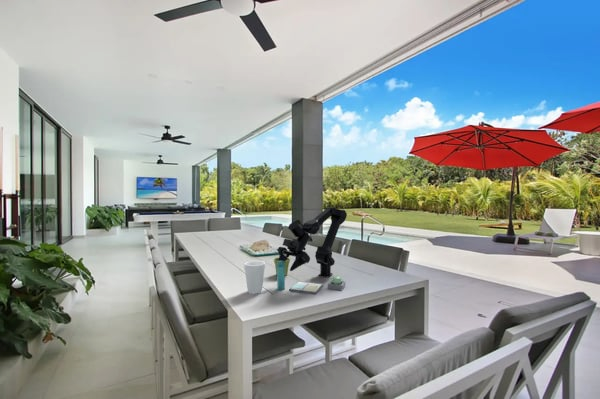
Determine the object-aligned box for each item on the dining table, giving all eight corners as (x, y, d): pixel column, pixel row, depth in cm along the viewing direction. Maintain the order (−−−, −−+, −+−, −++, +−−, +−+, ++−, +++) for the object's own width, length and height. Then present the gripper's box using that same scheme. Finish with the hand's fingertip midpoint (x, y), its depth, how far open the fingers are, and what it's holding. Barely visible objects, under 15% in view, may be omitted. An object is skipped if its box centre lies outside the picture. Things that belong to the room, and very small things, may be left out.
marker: (279, 287, 136) (279, 260, 136) (285, 288, 135) (285, 261, 134) (276, 289, 133) (276, 262, 132) (283, 290, 131) (282, 262, 131)
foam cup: (250, 296, 124) (249, 266, 124) (241, 290, 131) (240, 262, 131) (269, 292, 129) (268, 263, 129) (259, 286, 137) (259, 259, 137)
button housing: (331, 283, 141) (331, 279, 141) (345, 285, 139) (345, 281, 139) (327, 288, 135) (327, 284, 135) (342, 289, 132) (342, 285, 132)
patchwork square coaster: (298, 283, 142) (298, 280, 142) (323, 285, 138) (323, 283, 138) (288, 291, 130) (288, 289, 130) (315, 294, 126) (315, 292, 126)
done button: (333, 281, 140) (333, 276, 140) (342, 282, 138) (342, 276, 138) (331, 284, 135) (331, 278, 135) (340, 285, 134) (340, 279, 134)
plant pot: (289, 277, 153) (289, 261, 152) (272, 277, 153) (272, 261, 153) (290, 272, 162) (290, 257, 162) (274, 272, 162) (274, 257, 162)
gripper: (279, 230, 145) (262, 255, 137) (306, 234, 132) (288, 262, 124) (291, 244, 150) (274, 268, 143) (317, 249, 137) (300, 276, 130)
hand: (283, 268), depth 135 cm, fingers open, 9 cm apart
